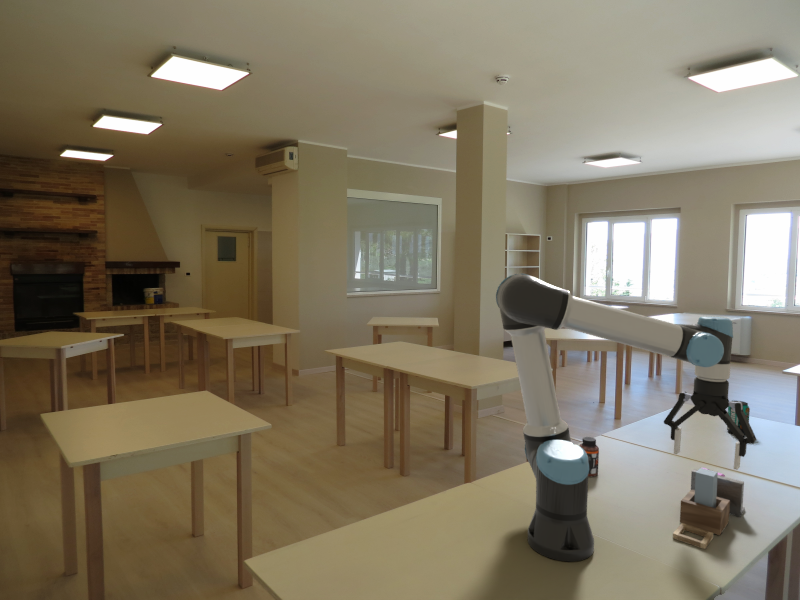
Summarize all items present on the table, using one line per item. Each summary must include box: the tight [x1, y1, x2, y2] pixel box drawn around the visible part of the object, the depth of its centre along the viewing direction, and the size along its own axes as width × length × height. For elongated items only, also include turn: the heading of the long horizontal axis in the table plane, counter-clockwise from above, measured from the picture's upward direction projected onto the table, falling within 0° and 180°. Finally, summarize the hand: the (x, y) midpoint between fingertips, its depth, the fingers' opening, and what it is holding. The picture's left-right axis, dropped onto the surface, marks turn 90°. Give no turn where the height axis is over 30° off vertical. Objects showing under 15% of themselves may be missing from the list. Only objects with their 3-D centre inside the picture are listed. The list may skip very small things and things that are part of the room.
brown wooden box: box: [679, 489, 730, 536], centre depth 134 cm, size 9×9×6 cm
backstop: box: [690, 468, 746, 518], centre depth 143 cm, size 5×12×9 cm, turn 46°
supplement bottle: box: [579, 436, 600, 478], centre depth 164 cm, size 6×6×11 cm
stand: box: [672, 523, 714, 550], centre depth 127 cm, size 7×7×1 cm
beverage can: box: [726, 400, 751, 436], centre depth 203 cm, size 7×7×12 cm
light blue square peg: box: [694, 467, 719, 508], centre depth 133 cm, size 4×4×12 cm
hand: (705, 460), depth 133 cm, fingers open, 13 cm apart
